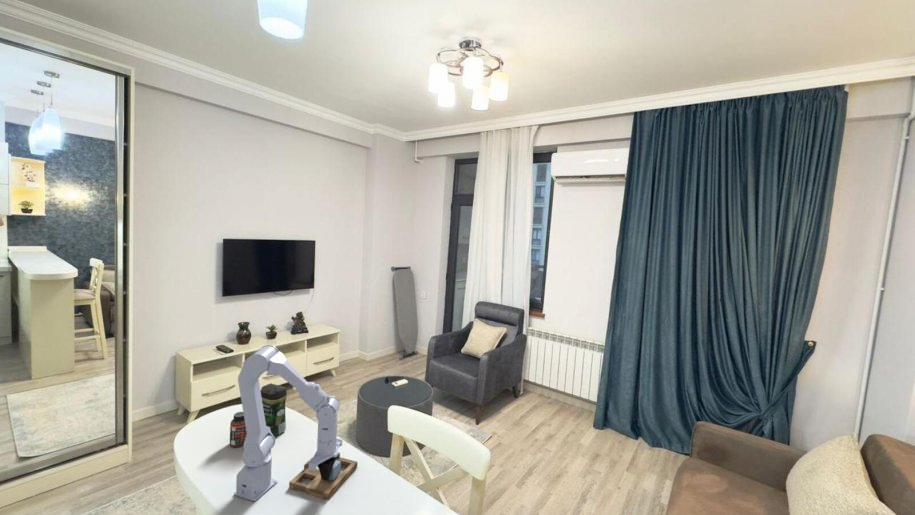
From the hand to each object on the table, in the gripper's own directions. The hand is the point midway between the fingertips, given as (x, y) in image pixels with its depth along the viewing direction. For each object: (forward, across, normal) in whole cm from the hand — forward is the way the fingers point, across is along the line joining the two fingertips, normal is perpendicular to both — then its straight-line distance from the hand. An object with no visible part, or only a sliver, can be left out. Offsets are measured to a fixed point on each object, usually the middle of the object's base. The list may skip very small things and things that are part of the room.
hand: (325, 478), depth 121 cm
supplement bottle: (+3, +9, +43) cm, 44 cm away
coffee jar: (+3, +20, +38) cm, 43 cm away
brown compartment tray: (+3, +4, +3) cm, 6 cm away
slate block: (+1, +3, 0) cm, 4 cm away
